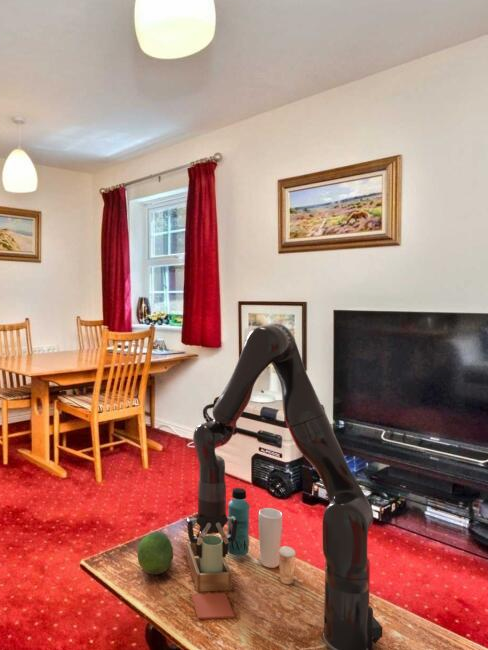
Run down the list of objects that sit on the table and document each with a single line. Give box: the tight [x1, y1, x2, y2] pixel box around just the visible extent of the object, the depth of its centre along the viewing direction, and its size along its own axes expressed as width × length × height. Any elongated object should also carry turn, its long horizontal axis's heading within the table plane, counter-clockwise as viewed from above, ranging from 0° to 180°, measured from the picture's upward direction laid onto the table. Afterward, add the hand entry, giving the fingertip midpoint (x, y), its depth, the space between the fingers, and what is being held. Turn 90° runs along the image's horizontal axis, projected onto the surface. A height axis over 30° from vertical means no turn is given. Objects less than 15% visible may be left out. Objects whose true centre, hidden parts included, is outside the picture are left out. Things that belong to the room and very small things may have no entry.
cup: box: [200, 534, 223, 573], centre depth 133 cm, size 6×6×10 cm
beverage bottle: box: [226, 487, 250, 557], centre depth 146 cm, size 6×7×20 cm
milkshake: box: [279, 545, 298, 585], centre depth 133 cm, size 4×5×10 cm
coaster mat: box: [190, 592, 236, 620], centre depth 123 cm, size 9×9×1 cm
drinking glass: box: [257, 507, 284, 569], centre depth 142 cm, size 7×7×15 cm
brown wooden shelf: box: [185, 540, 232, 593], centre depth 138 cm, size 9×17×4 cm, turn 5°
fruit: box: [137, 531, 174, 575], centre depth 140 cm, size 15×10×10 cm, turn 164°
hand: (211, 555), depth 133 cm, fingers closed on cup, 6 cm apart
